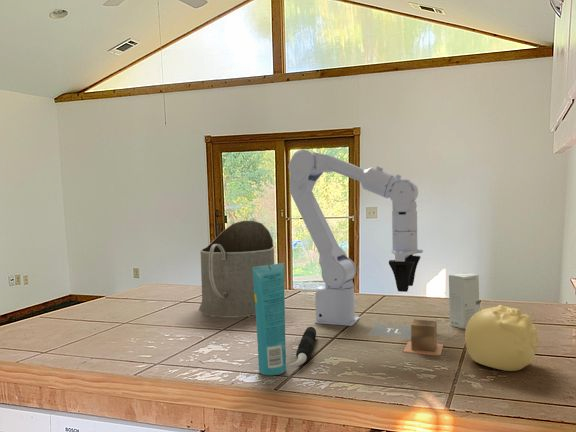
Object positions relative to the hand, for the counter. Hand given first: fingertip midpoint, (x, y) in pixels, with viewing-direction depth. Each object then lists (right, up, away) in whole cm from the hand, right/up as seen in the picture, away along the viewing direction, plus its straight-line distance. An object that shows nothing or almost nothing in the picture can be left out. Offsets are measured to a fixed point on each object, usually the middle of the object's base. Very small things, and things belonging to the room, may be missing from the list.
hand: (405, 288), depth 110 cm
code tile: (-4, -9, -3) cm, 11 cm away
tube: (-31, -11, -26) cm, 42 cm away
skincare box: (+14, -9, 0) cm, 17 cm away
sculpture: (+11, -10, -26) cm, 30 cm away
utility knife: (-25, -11, -17) cm, 32 cm away
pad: (0, -10, -16) cm, 19 cm away
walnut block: (0, -9, -16) cm, 19 cm away
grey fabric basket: (-43, -10, +22) cm, 49 cm away
